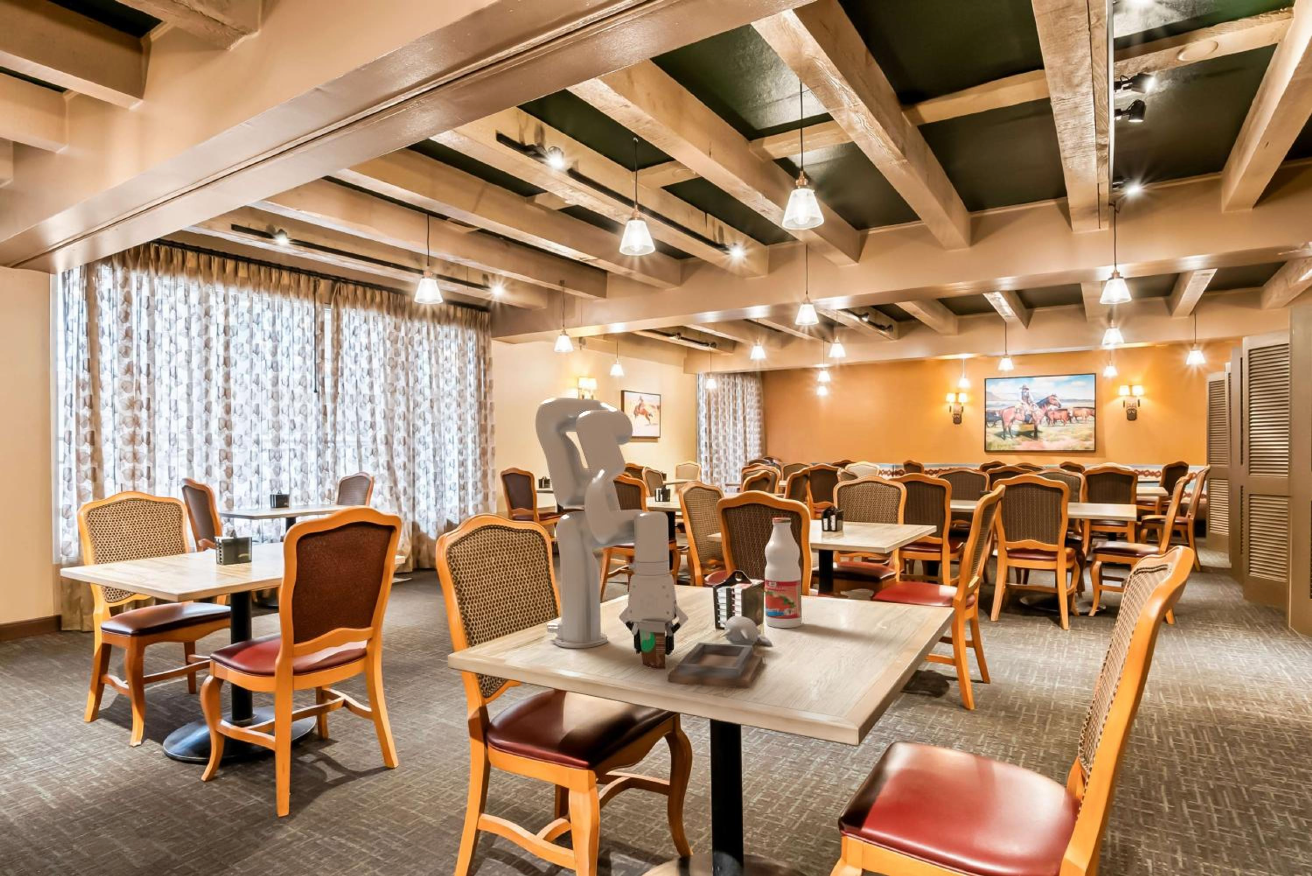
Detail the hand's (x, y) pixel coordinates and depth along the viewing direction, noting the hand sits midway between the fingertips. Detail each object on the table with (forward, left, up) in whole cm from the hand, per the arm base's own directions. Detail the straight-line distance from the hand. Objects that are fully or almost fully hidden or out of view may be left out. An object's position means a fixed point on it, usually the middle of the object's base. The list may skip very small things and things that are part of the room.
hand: (654, 652), depth 157 cm
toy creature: (+17, +18, -3) cm, 24 cm away
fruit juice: (+22, +43, -3) cm, 49 cm away
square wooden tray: (+14, -3, -2) cm, 15 cm away
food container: (-1, 0, -3) cm, 3 cm away
